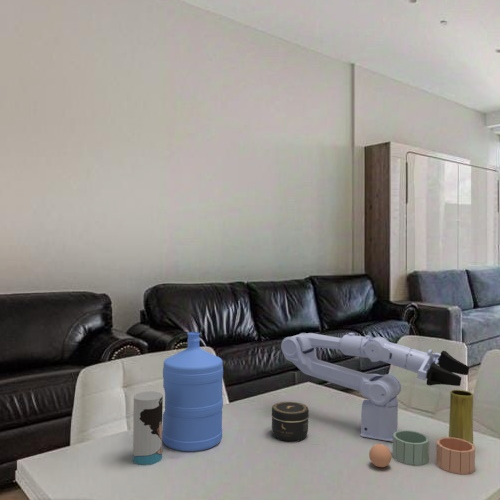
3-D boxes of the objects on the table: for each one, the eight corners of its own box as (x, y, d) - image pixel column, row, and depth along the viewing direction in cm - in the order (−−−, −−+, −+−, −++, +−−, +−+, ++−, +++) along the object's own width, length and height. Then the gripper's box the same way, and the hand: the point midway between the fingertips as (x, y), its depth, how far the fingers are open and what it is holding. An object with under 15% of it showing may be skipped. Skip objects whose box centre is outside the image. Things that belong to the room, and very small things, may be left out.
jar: (265, 439, 126) (266, 410, 126) (278, 425, 135) (278, 399, 135) (302, 445, 122) (303, 415, 122) (312, 431, 132) (312, 404, 131)
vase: (476, 454, 118) (477, 397, 118) (450, 452, 119) (451, 395, 119) (470, 444, 124) (471, 390, 124) (445, 442, 125) (446, 388, 125)
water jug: (234, 439, 125) (236, 333, 125) (187, 458, 114) (189, 341, 113) (196, 423, 136) (197, 325, 136) (149, 439, 125) (151, 332, 124)
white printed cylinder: (165, 461, 112) (166, 398, 112) (136, 467, 109) (137, 402, 109) (157, 450, 118) (158, 390, 118) (130, 455, 115) (130, 393, 115)
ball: (367, 468, 110) (367, 447, 110) (371, 459, 115) (371, 439, 115) (389, 473, 108) (390, 451, 108) (392, 463, 113) (392, 442, 113)
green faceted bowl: (390, 460, 114) (391, 440, 114) (395, 447, 122) (395, 428, 122) (427, 467, 111) (427, 446, 111) (429, 453, 118) (429, 433, 118)
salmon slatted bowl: (435, 469, 110) (436, 447, 110) (437, 455, 118) (437, 435, 118) (474, 476, 107) (475, 454, 107) (474, 461, 114) (474, 441, 114)
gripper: (402, 353, 119) (459, 371, 111) (420, 337, 130) (474, 352, 122) (398, 379, 120) (454, 398, 112) (417, 361, 132) (469, 377, 124)
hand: (464, 376), depth 117 cm, fingers open, 7 cm apart
